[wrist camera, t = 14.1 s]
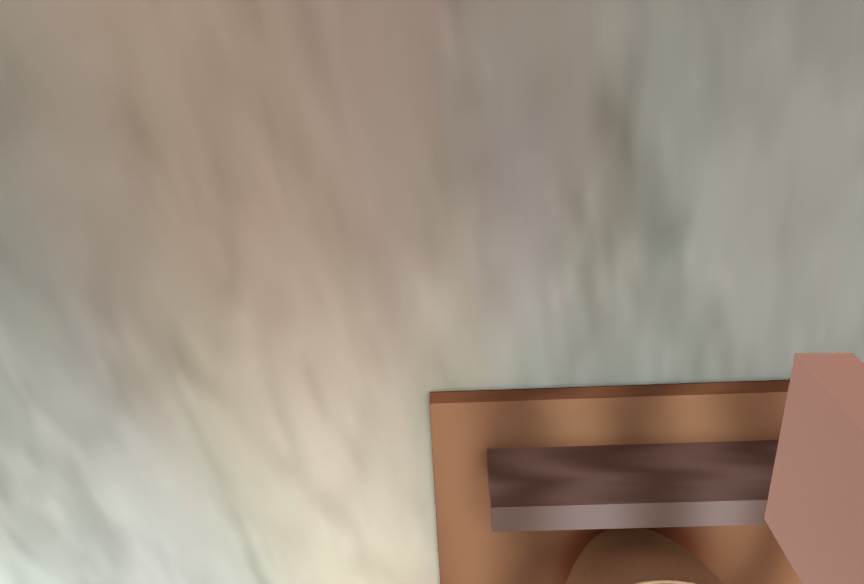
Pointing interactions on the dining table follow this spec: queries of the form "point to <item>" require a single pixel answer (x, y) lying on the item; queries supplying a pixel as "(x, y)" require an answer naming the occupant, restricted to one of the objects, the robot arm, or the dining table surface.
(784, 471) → the robot arm
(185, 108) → the dining table surface
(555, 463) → the cup cradle
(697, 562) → the flower pot
